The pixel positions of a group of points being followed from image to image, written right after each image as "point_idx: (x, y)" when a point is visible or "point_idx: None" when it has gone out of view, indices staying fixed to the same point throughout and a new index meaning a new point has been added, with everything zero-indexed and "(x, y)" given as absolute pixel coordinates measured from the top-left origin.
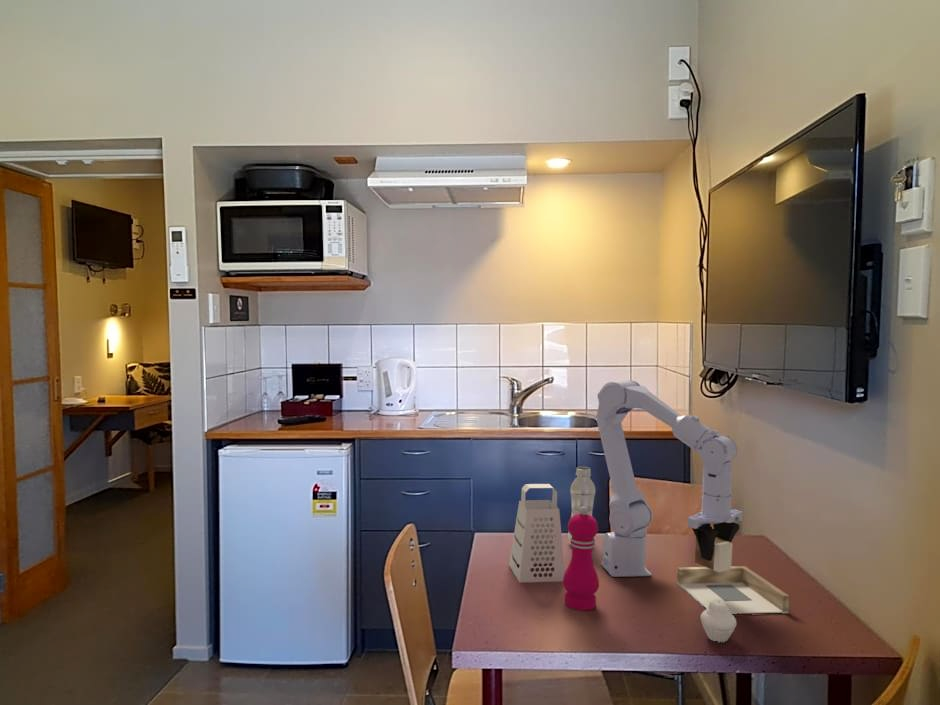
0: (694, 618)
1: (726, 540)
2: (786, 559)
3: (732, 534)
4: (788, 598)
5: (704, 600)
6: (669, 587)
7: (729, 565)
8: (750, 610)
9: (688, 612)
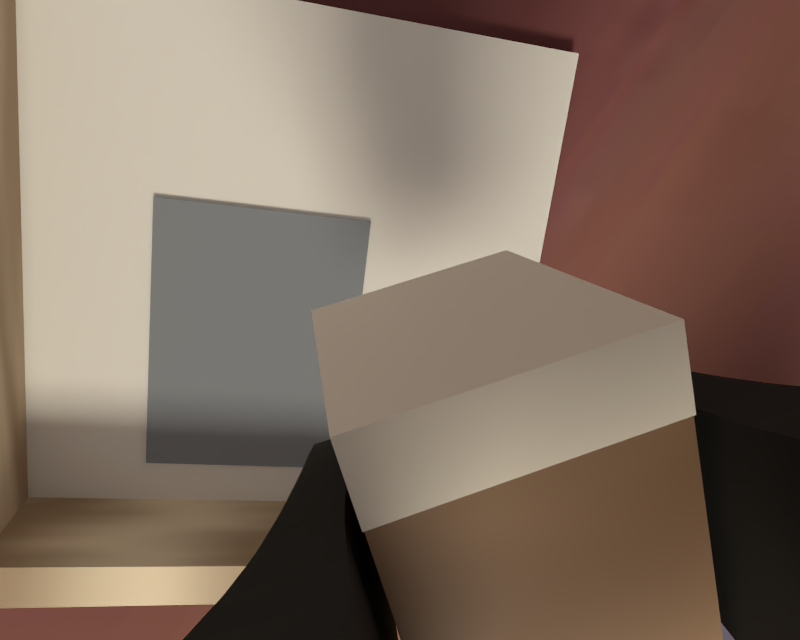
0: (704, 52)
1: (356, 571)
2: None
3: (268, 630)
4: None
5: None
6: None
7: (345, 312)
8: (282, 35)
9: (682, 139)
